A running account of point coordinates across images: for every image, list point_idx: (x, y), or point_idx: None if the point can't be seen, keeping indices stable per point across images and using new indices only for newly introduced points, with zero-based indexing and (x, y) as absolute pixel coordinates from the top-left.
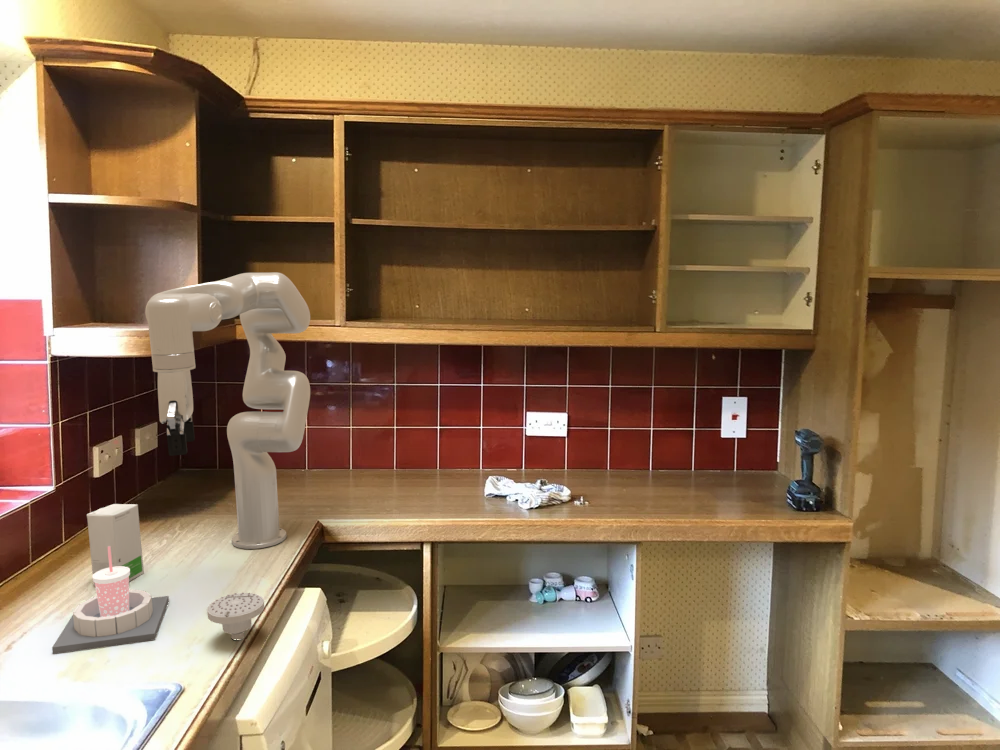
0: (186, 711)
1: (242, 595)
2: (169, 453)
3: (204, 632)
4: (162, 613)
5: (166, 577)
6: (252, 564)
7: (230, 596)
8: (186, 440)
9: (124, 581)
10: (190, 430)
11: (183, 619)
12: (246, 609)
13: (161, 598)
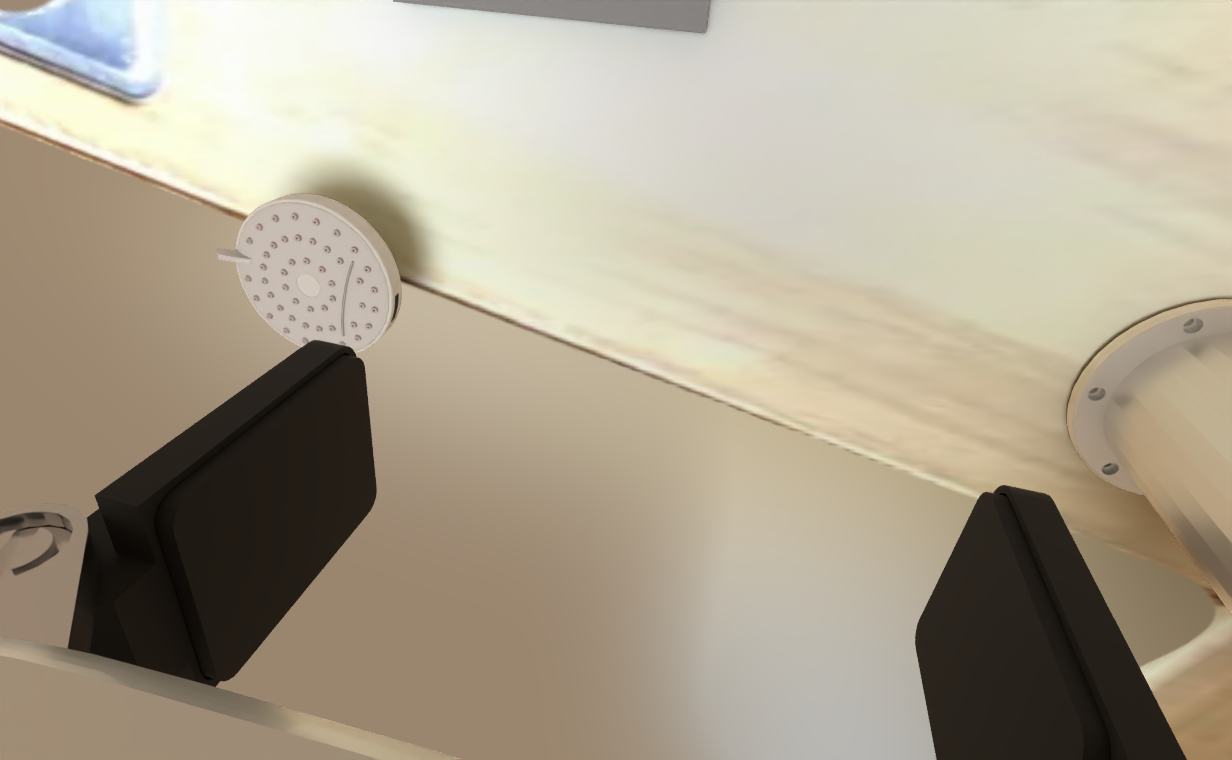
0: (46, 110)
1: (358, 308)
2: (309, 352)
3: (420, 158)
4: (555, 17)
5: (995, 2)
6: (917, 341)
7: (346, 275)
8: (945, 582)
9: None
10: (951, 755)
11: (530, 92)
12: (265, 307)
13: (688, 4)
